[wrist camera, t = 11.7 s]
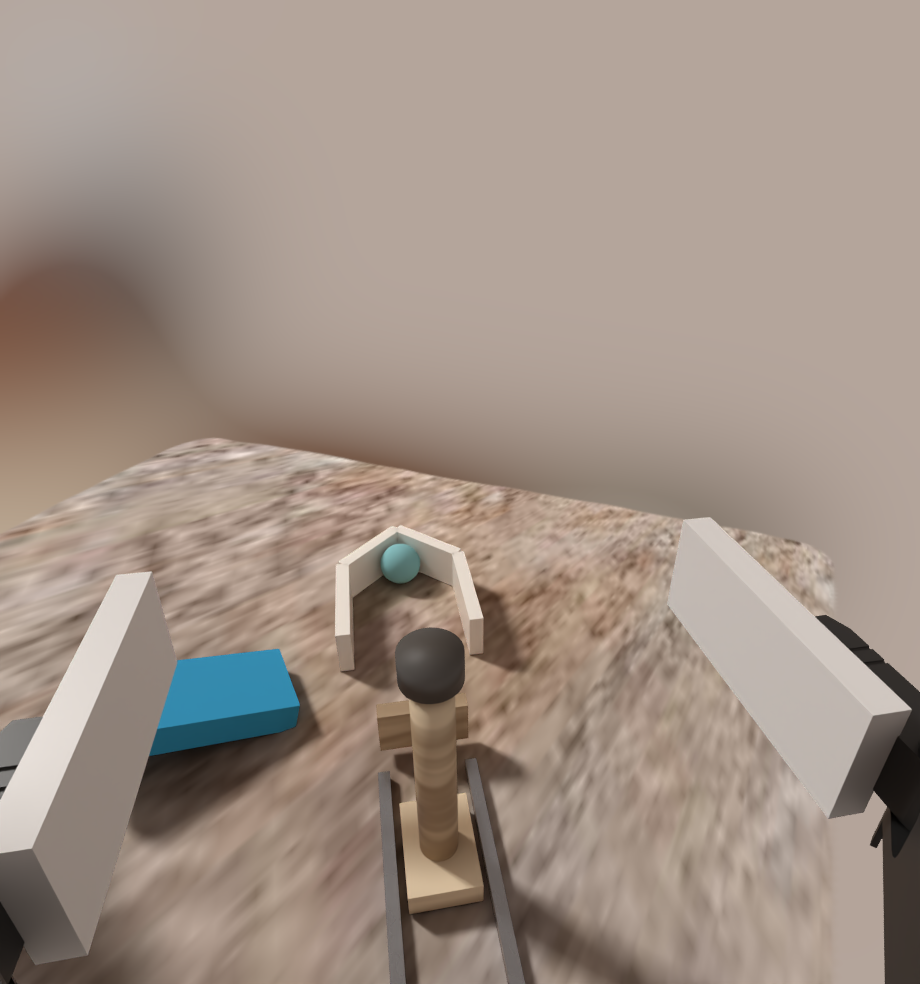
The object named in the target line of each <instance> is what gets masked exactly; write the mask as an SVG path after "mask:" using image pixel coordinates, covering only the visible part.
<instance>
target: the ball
mask: <svg viewBox="0 0 920 984" xmlns="http://www.w3.org/2000/svg"><path fill="white" fill-rule="evenodd" d="M419 568H420V558H419V555H418V553H417V552H416V551H415V550H414V549H413V548H412V547H411V546H409V545H406V544H395V545H392V546H390V547H389V548H388V549H386V551H385V552H384V553H383V555H382V557H381V570H382V572H383V574H384V576H385V577H386V578H387V579H388V580H390V581H392V582H394V583H406V582H409V581H410V580H412V579H413V578H414V577H415V576H416V575H417V573H418V571H419Z"/></svg>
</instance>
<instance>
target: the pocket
mask: <svg viewBox="0 0 920 984" xmlns="http://www.w3.org/2000/svg"><path fill="white" fill-rule="evenodd" d="M395 544H406V545H409V546H411V547H412V548H413V549H414V550H415V551H416V552H417V553H418V555H419V558H420V568H419V571H418V572H421V573H423V574H425V575H428V576H430V577H432V578H435V579H437V580H439V581H441V582H444V583H446V584H448V585H451V586H453V589H454V593H455V597H456V601H457V606H458V610H459V614H460V618H461V622H462V626H463V630H464V634H465V638H466V642H467V646H468V650H469V654H470V655H473V654H481V653H483V620H484V618H483V615H482V611H481V608H480V605H479V601H478V598H477V594H476V591H475V588H474V584H473V581H472V578H471V574H470V571H469V567H468V564H467V561H466V557H465V554H464V551H461V549H460V548H458V547H455V546H452V545H450V544H447V543H445V542H442V541H440V540H437V539H435V538H432V537H430V536H427V535H425V534H422V533H419V532H417V531H414V530H412V529H409V528H407V527H404V526H402V525H400V526H398V527H397V528H396V527H394V526H391V527H389V528H388V529H386V530H385V531H383V532H382V533H380V534H379V535H377V536H376V537H374V538H373V539H371V540H370V541H368V542H367V543H365V544H364V545H362V546H361V547H359V548H358V549H356V550H355V551H353V552H352V553H350V554H349V555H347V556H346V557H344V558H343V559H341V560H340V561H338V564H337V565H336V608H335V638H336V645H337V652H338V659H339V666H340V671H348V670H355V666H354V628H353V597H354V596H356V595H357V594H358V593H360V592H361V591H362V590H364V589H365V588H367V587H368V586H369V585H371V584H372V583H373V582H375V581H376V580H377V579H379V578H380V577H381V576H383V575H384V574H383V572H382V570H381V557H382V555H383V553H384V552H385V551H386V549H388V548H389V547H390V546H392V545H395Z"/></svg>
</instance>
